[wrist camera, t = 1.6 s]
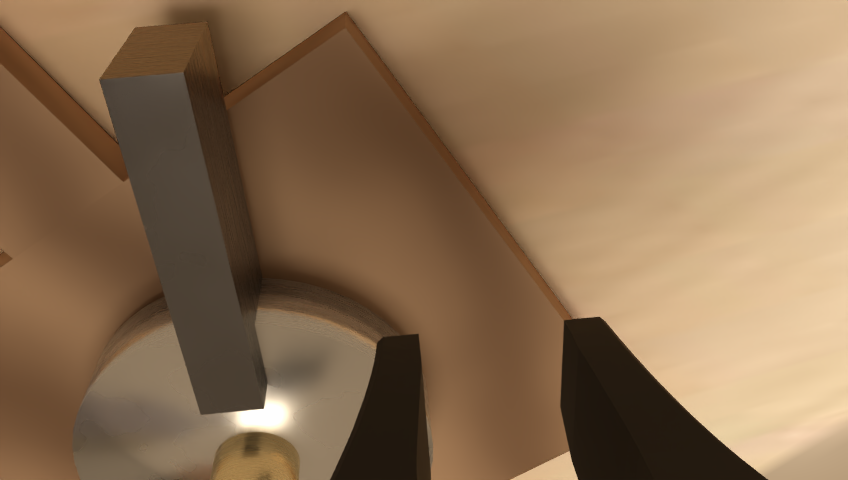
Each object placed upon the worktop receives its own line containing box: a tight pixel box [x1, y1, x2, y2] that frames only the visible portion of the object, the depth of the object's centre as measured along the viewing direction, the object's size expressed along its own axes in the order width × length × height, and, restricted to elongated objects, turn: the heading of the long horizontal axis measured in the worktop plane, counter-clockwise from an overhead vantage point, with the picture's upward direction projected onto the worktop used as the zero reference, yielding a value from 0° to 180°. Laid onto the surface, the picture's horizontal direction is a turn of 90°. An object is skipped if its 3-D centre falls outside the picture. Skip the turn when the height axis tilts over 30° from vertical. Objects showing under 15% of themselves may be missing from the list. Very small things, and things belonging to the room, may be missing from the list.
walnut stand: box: [0, 12, 572, 480], centre depth 24 cm, size 18×22×1 cm
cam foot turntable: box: [72, 22, 433, 480], centre depth 21 cm, size 17×10×4 cm, turn 4°
